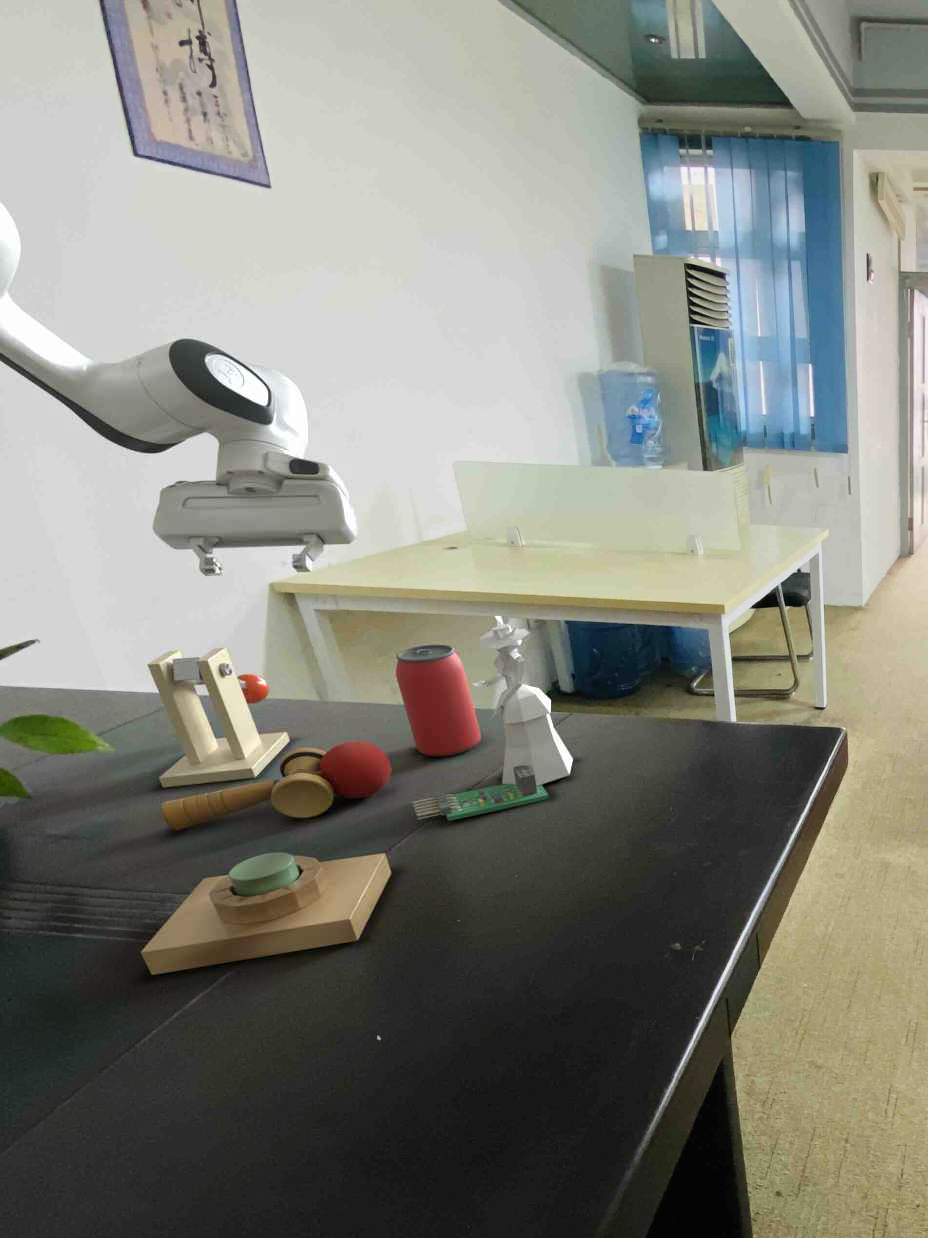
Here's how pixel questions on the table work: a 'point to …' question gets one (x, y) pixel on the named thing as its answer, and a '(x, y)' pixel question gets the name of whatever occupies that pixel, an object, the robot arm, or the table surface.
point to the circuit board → (486, 798)
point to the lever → (190, 675)
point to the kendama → (293, 785)
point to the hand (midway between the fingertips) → (256, 571)
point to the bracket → (203, 752)
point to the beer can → (437, 700)
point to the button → (264, 874)
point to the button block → (270, 915)
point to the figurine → (524, 712)
